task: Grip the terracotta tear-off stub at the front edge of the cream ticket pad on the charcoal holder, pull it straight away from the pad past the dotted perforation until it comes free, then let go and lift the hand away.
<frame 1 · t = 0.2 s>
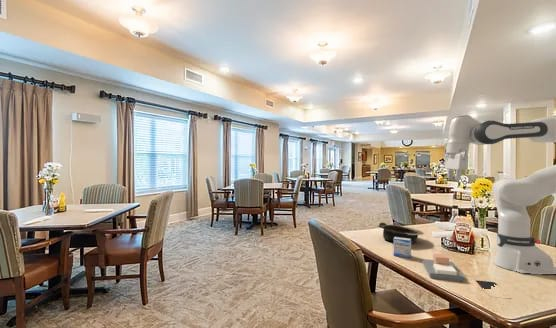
hand: (453, 179, 134), 39 cm above the table, tool pointing down, fingers open, 8 cm apart
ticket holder: (443, 273, 120), on the table
medicine box: (402, 256, 142), on the table
smartphone: (492, 290, 105), on the table
stub: (441, 260, 123), point 4 cm above the table, slide at 0.0 cm
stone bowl: (400, 240, 169), on the table
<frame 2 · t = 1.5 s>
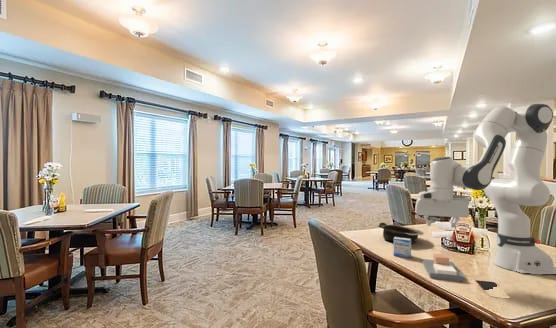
hand: (440, 226, 123), 19 cm above the table, tool pointing down, fingers open, 8 cm apart
nothing on the table moved.
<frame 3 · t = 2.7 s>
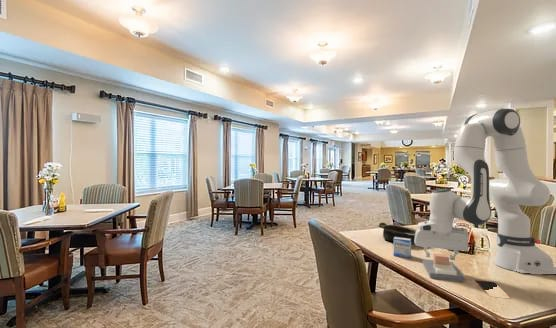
hand: (439, 258, 123), 5 cm above the table, tool pointing down, fingers open, 8 cm apart
nothing on the table moved.
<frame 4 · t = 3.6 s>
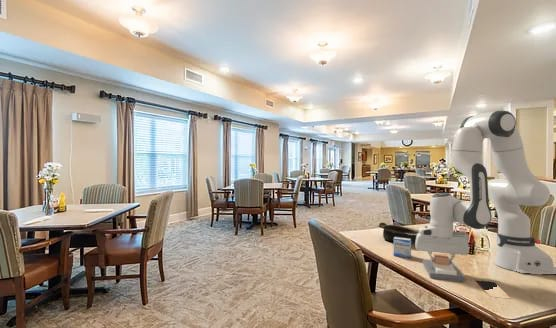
hand: (441, 262, 123), 3 cm above the table, tool pointing down, fingers closed on stub, 5 cm apart
stub: (441, 260, 123), point 4 cm above the table, slide at 0.0 cm, touching gripper
everything else where it was.
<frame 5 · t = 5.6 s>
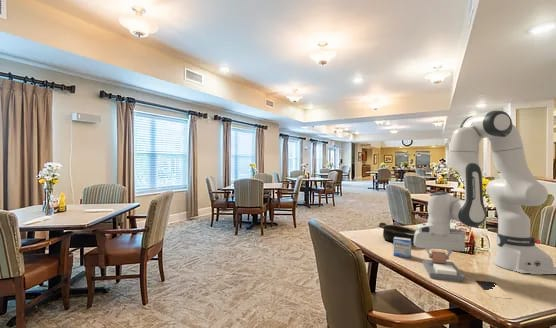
hand: (438, 258, 128), 3 cm above the table, tool pointing down, fingers closed on stub, 5 cm apart
stub: (438, 256, 128), point 4 cm above the table, slide at 5.0 cm, touching gripper
everything else where it was.
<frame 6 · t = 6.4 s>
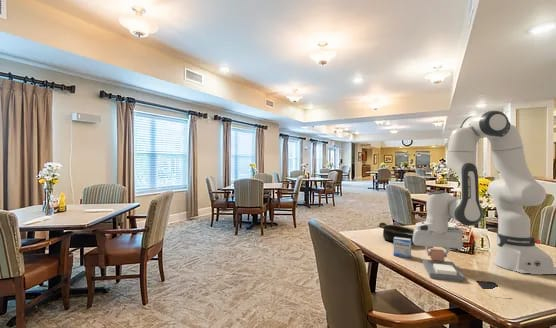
hand: (436, 256, 131), 3 cm above the table, tool pointing down, fingers closed on stub, 5 cm apart
stub: (436, 254, 131), point 4 cm above the table, slide at 8.3 cm, touching gripper
everything else where it was.
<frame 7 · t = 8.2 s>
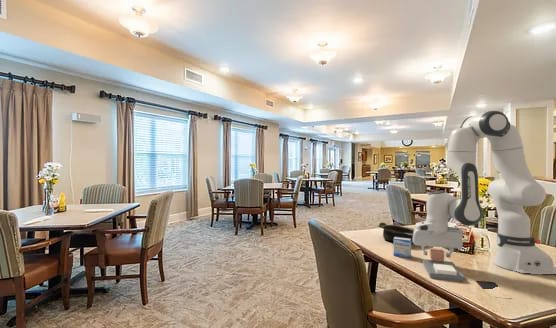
hand: (436, 256, 131), 3 cm above the table, tool pointing down, fingers open, 8 cm apart
stub: (436, 254, 131), point 4 cm above the table, slide at 8.4 cm
everything else where it was.
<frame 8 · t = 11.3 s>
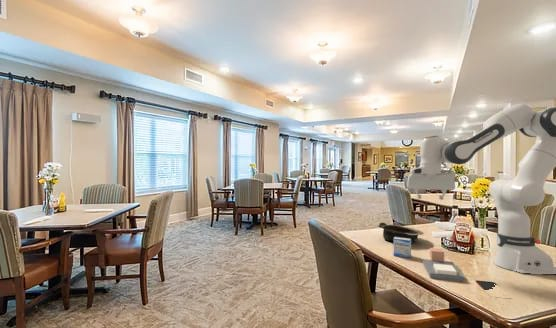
hand: (430, 199, 136), 29 cm above the table, tool pointing down, fingers open, 8 cm apart
nothing on the table moved.
at the end: stub slide at 8.4 cm; the gripper is holding nothing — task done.
